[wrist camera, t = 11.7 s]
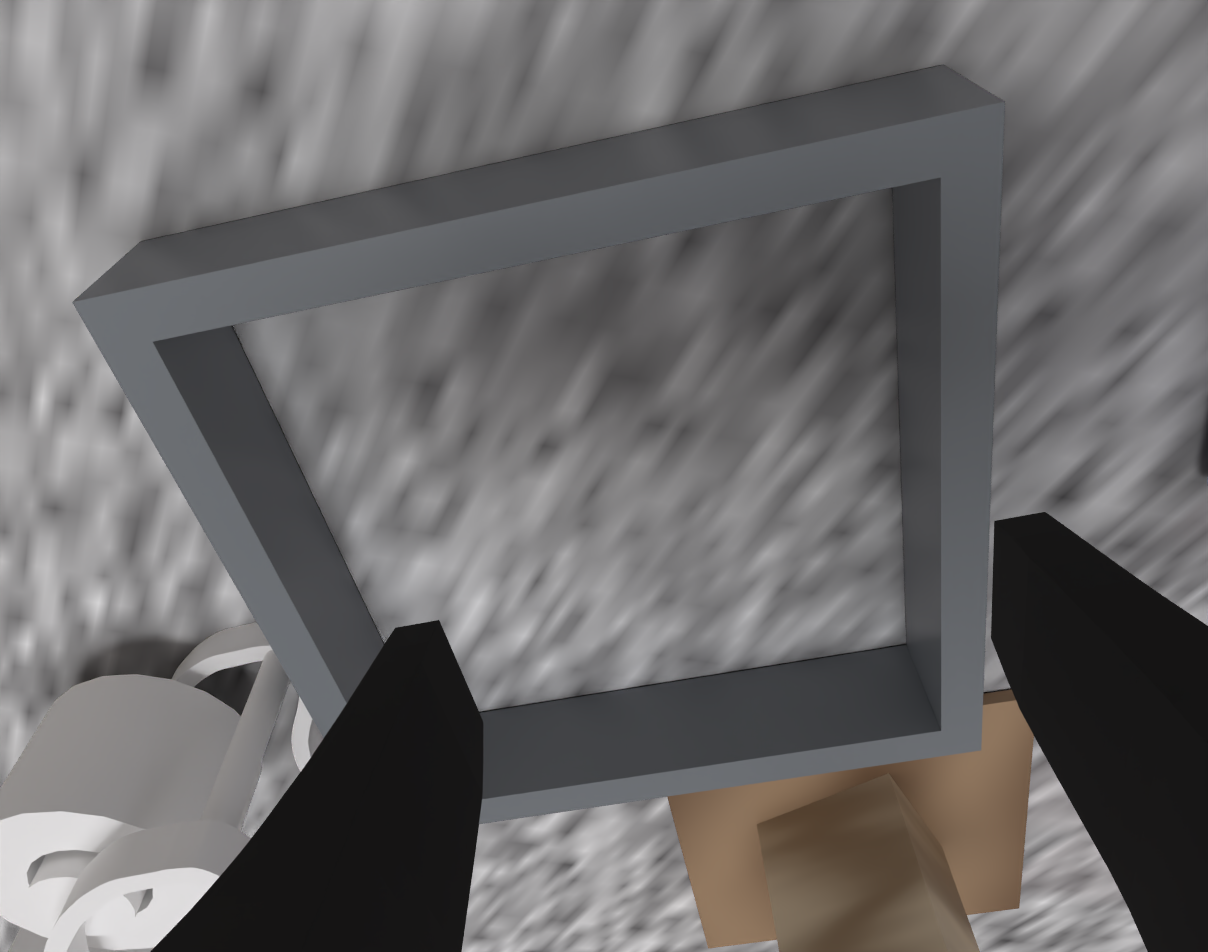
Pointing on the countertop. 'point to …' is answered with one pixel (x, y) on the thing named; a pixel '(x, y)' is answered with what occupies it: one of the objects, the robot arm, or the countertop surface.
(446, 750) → the robot arm
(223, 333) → the bin
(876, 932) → the label box
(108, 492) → the countertop surface
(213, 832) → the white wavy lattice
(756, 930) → the pad
